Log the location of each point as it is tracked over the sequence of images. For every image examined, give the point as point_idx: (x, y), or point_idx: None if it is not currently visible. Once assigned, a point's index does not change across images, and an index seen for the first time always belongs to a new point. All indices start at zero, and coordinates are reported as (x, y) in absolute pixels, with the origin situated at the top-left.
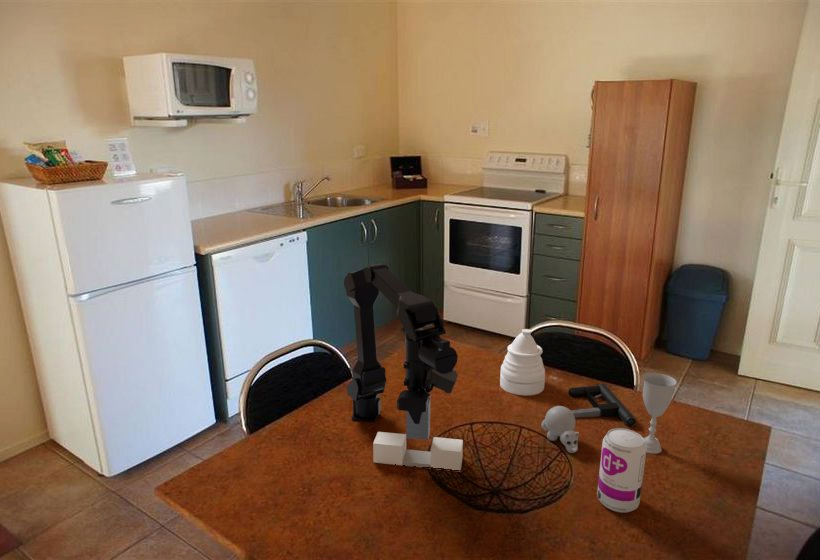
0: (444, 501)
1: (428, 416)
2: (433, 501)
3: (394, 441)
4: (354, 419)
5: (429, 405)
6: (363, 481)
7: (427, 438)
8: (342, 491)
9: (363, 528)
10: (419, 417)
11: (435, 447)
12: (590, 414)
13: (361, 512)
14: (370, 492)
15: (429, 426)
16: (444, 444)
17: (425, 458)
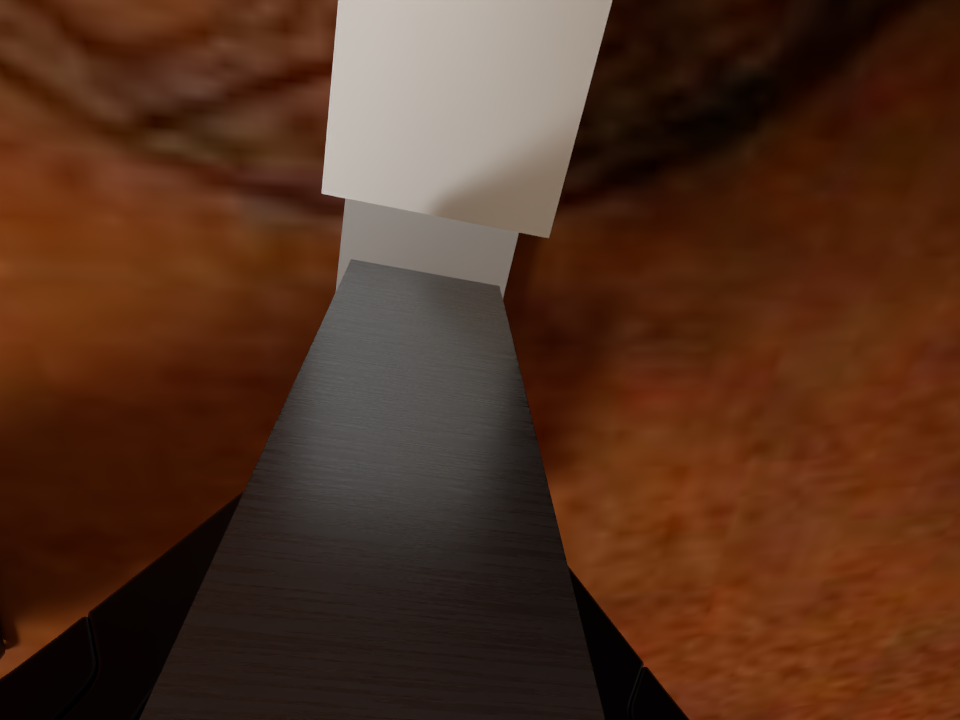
0: (916, 113)
1: (519, 457)
2: (888, 192)
3: None
4: (2, 644)
5: (387, 583)
6: (611, 553)
7: (500, 299)
8: (672, 620)
9: (953, 528)
10: (579, 597)
11: (523, 187)
12: None
13: (844, 543)
14: (707, 520)
15: (384, 309)
16: (472, 78)
17: (442, 235)
